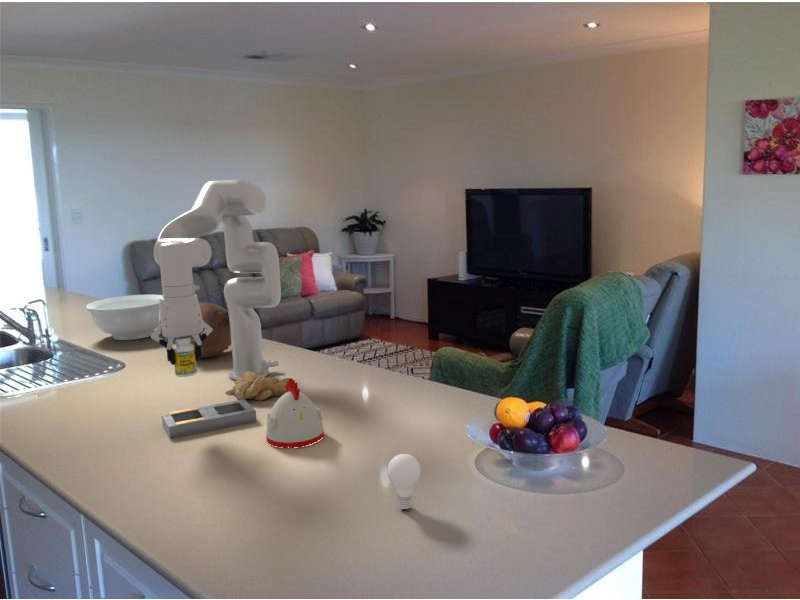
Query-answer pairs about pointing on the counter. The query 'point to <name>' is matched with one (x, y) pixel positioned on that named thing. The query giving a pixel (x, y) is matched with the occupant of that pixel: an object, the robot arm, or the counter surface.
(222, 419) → the cinder block
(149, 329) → the bowl
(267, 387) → the ginger root
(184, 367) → the supplement bottle
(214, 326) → the brown round lump
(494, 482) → the counter surface
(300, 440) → the kitchen timer
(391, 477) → the lightbulb
